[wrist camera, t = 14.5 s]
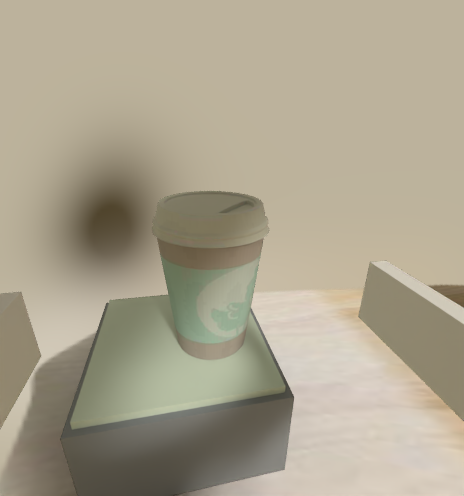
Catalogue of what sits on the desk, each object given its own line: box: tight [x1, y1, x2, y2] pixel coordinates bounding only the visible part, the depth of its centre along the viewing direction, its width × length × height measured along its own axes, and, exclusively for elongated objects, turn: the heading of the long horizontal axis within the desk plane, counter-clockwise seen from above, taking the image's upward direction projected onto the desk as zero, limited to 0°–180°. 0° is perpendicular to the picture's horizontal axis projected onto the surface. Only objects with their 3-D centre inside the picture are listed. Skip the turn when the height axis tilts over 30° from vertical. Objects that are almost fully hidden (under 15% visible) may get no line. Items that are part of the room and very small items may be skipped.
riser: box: [60, 295, 294, 496], centre depth 27 cm, size 15×15×9 cm
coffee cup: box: [152, 191, 269, 360], centre depth 23 cm, size 9×9×12 cm
